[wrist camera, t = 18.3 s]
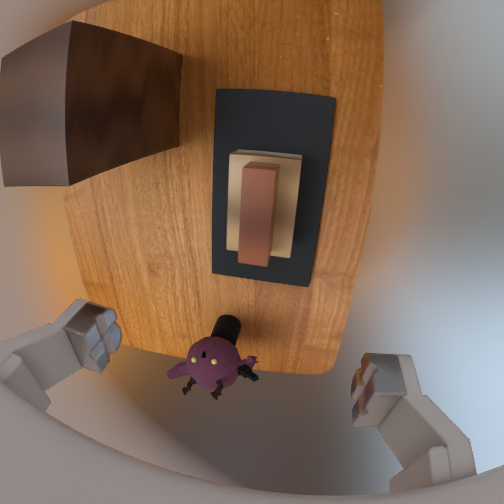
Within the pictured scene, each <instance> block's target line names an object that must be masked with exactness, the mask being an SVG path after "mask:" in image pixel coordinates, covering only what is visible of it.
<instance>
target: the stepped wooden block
mask: <svg viewBox="0 0 504 504" xmlns="http://www.w3.org/2000/svg"><path fill="white" fill-rule="evenodd" d="M301 163H302V155H295V154H287V153H277V152H267V151H255V150H242V149H239V150H237V151H235V152H233V153H231V154H230V156H229V181H228V210H227V248H226V249H227V250H233V251H238V263H244V264H251V265H258V266H265V267H267V266H268V263H269V259H270V256H277V257H285V258H290V255H291V247H292V240H293V232H294V224H295V216H296V208H297V199H298V190H299V181H300V172H301Z"/></svg>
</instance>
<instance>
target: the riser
mask: <svg viewBox="0 0 504 504" xmlns="http://www.w3.org/2000/svg"><path fill="white" fill-rule="evenodd" d="M181 62H182V54H179V53H177V52H174V51H172V50H169V49H167V48H164V47H162V46H159V45H156V44H153V43H151V42H148V41H145V40H142V39H139V38H136V37H133V36H130V35H127V34H123V33H120V32H117V31H113V30H110V29H106V28H103V27H99V26H95V25H91V24H87V23H82V22H78V21H73V20H72V21H69V22H67V23H65V24H63V25H61V26H58V27H56V28H54V29H52V30H50V31H48V32H46V33H44V34H42V35H40V36H38V37H37V38H35V39H33V40H31V41H29V42H27V43H26V44H24V45H22V46H20V47H19V48H17V49H15V50H14V51H12V52H11V53H9V54H7V55H6V56H4V57H3V58H2V63H1V72H0V155H1V166H2V174H3V182H4V186H5V187H8V186H9V187H10V186H71V185H73V184H75V183H78V182H80V181H83V180H85V179H87V178H90V177H92V176H95V175H97V174H100V173H102V172H105V171H107V170H110V169H113V168H115V167H118V166H121V165H124V164H126V163H129V162H132V161H135V160H138V159H141V158H144V157H147V156H150V155H153V154H156V153H159V152H162V151H165V150H169V149H172V148H175V147H178V125H179V96H180V77H181Z"/></svg>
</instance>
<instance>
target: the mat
mask: <svg viewBox="0 0 504 504" xmlns="http://www.w3.org/2000/svg"><path fill="white" fill-rule="evenodd" d="M334 106H335V98H333V97H326V96H319V95H311V94H303V93H293V92H282V91H269V90H250V89H217V90H216V108H215V130H214V156H213V196H212V273H214V274H221V275H227V276H234V277H240V278H247V279H254V280H261V281H268V282H275V283H282V284H289V285H296V286H304V287H309V282H310V276H311V271H312V266H313V260H314V255H315V249H316V243H317V237H318V231H319V225H320V219H321V212H322V206H323V199H324V192H325V185H326V178H327V170H328V162H329V154H330V145H331V136H332V127H333V117H334ZM239 149H242V150H255V151H267V152H277V153H287V154H295V155H302V163H301V172H300V181H299V190H298V199H297V208H296V216H295V224H294V232H293V240H292V247H291V255H290V258H285V257H277V256H270V259H269V263H268V266H267V267H265V266H258V265H251V264H244V263H238V251H233V250H227V249H226V248H227V210H228V181H229V156H230V154H231V153H233V152H235V151H237V150H239Z"/></svg>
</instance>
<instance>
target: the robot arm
mask: <svg viewBox="0 0 504 504" xmlns="http://www.w3.org/2000/svg"><path fill="white" fill-rule="evenodd" d="M116 319H117V315H116V312H115V310H114V309H112V308H109V307H106V306H103V305H100V304H97V303H94V302H91V301H86V300H84V299H76V300H75V301H74V302H73V303H72V304H71V305H70V306H69V307H68V308H67V309H66V310H65V312H64V313H63V314H61V316H60V317H59V318H58V319H57V320H56V321H55V322H54V323H53V324H50V323H49V324H46V325H44V326H41V327H39V328H36V329H34V330H31V331H29V332H26V333H23V334H21V335H19V336H16V337H13V338H11V339H8V340H6V341H3V342H1V343H0V504H504V465H503V466H500V467H497V468H494V469H492V470H489V471H486V472H483V473H480V474H477V473H476V468H475V462H474V457H473V452H472V448H471V443H470V439H469V438H468V437H467V436H466V435H465V434H464V433H463V432H462V431H461V430H460V429H459V428H458V427H457V426H456V425H455V424H454V423H453V422H452V421H451V420H450V419H449V418H448V417H447V416H446V415H445V414H444V413H443V412H442V411H441V410H440V409H439V407H438V406H436V404H435V403H433V401H432V400H431V399H430V398H429V397H428V396H427V395H422V392H421V388H420V384H419V381H418V377H417V373H416V370H415V367H414V364H413V360H412V357H411V356H410V355H399V354H397V355H396V354H395V355H394V354H377V353H365V354H364V355H363V358H362V360H361V368H359V369H358V370H356V373H355V375H354V377H353V381H352V386H351V398H352V399H353V400H354V402H355V405H354V407H353V409H352V418H353V427H378V430H379V432H380V433H381V435H382V436H383V438H384V440H385V441H386V443H387V444H388V445H389V447H390V448H391V450H392V452H393V453H394V455H395V456H396V458H397V459H398V461H399V462H400V464H401V465H402V467H403V468H404V469H403V470H402V471H401V472H399V473H398V474H397V475H395V476H394V477H393V478H392V479H391V480H390V493H383V494H371V495H352V496H315V495H296V494H284V493H275V492H266V491H258V490H252V489H246V488H240V487H235V486H230V485H225V484H220V483H216V482H211V481H207V480H203V479H199V478H195V477H192V476H188V475H184V474H180V473H178V472H174V471H171V470H168V469H165V468H162V467H159V466H156V465H153V464H151V463H148V462H145V461H142V460H140V459H137V458H134V457H132V456H130V455H127V454H125V453H122V452H120V451H118V450H116V449H113V448H111V447H109V446H107V445H104V444H102V443H100V442H98V441H96V440H94V439H92V438H90V437H88V436H86V435H84V434H82V433H80V432H79V431H77V430H75V429H73V428H71V427H70V426H68V425H66V424H64V423H62V422H61V421H59V420H58V419H56V418H54V417H53V416H51V415H49V414H48V413H46V412H45V411H46V409H47V408H48V407H49V405H50V403H51V402H50V399H49V397H48V396H47V395H46V393H45V392H44V391H45V390H47V389H49V388H50V387H52V386H54V385H55V384H57V383H59V382H60V381H62V380H63V379H65V378H67V377H68V376H70V375H72V374H74V373H75V372H77V371H78V370H80V369H82V367H84V368H86V369H89V370H92V371H94V372H97V373H100V374H101V373H102V371H103V370H104V369H105V367H106V366H107V364H108V363H109V361H110V358H109V355H111V354H113V353H115V352H116V351H117V349H118V348H119V346H120V343H121V340H122V332H121V329H120V327H119V325H118V324H117V323H116V322H115V321H116Z"/></svg>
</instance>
